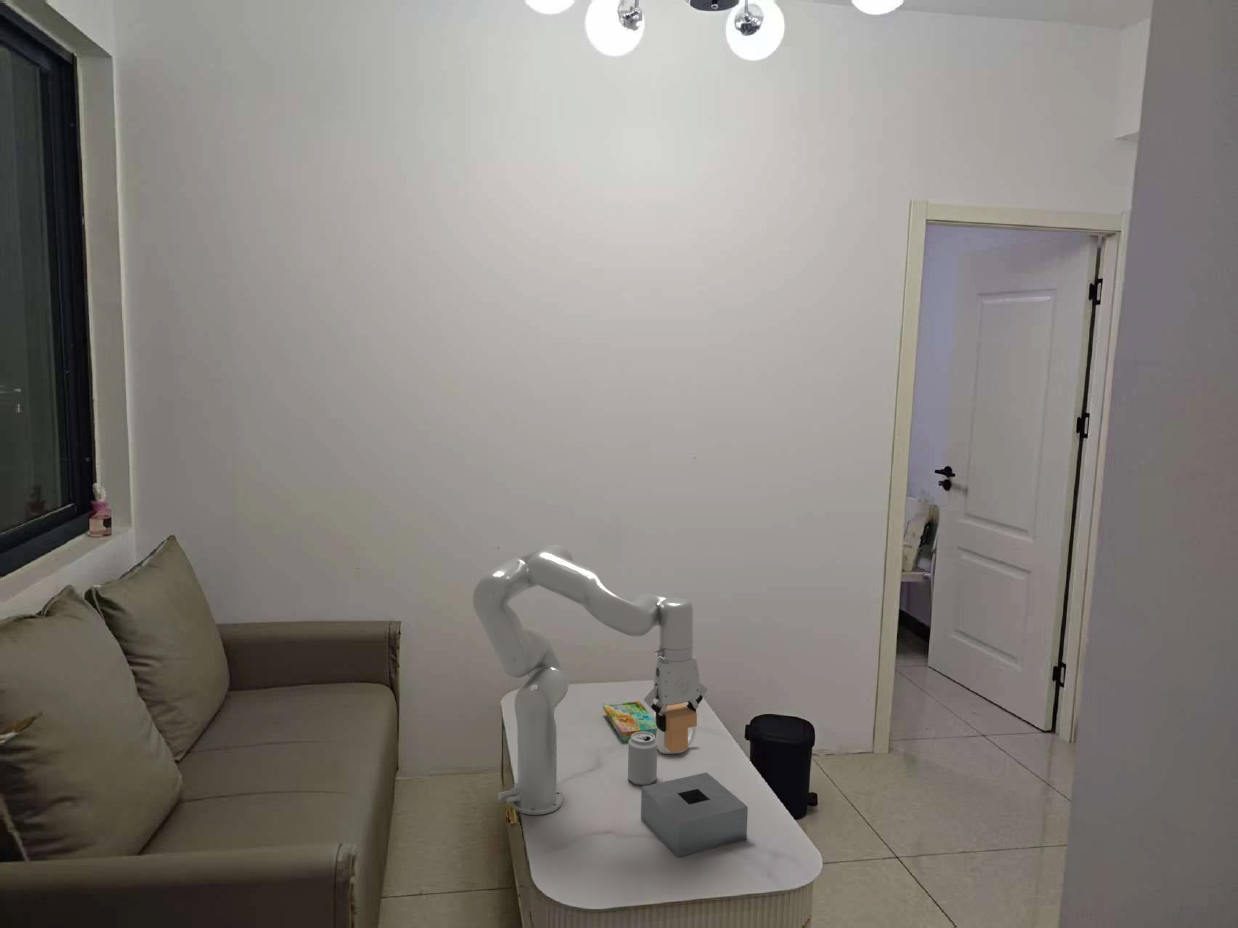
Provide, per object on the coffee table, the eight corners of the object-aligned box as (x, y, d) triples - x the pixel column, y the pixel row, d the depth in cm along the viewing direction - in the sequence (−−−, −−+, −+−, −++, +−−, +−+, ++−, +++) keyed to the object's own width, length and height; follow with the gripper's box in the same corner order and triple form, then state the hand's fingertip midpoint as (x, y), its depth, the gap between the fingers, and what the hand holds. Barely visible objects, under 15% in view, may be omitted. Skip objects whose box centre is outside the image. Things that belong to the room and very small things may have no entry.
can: (654, 788, 227) (655, 743, 225) (625, 784, 228) (626, 740, 227) (658, 774, 234) (659, 731, 232) (630, 771, 235) (631, 728, 234)
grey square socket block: (677, 857, 196) (678, 823, 195) (640, 818, 212) (641, 786, 211) (746, 839, 204) (747, 806, 203) (705, 802, 220) (706, 772, 219)
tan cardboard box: (669, 756, 202) (670, 718, 201) (655, 744, 208) (655, 708, 207) (696, 750, 205) (696, 713, 204) (681, 739, 211) (681, 702, 210)
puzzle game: (621, 729, 251) (602, 702, 270) (621, 745, 252) (602, 716, 271) (660, 725, 254) (639, 698, 273) (660, 740, 255) (639, 713, 274)
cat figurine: (647, 746, 251) (647, 695, 249) (688, 739, 255) (688, 689, 253) (659, 760, 242) (659, 707, 240) (701, 753, 247) (701, 701, 244)
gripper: (650, 663, 197) (650, 740, 199) (717, 651, 204) (716, 725, 206) (634, 653, 203) (635, 727, 206) (700, 642, 211) (700, 714, 213)
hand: (676, 726), depth 206 cm, fingers closed on tan cardboard box, 7 cm apart
